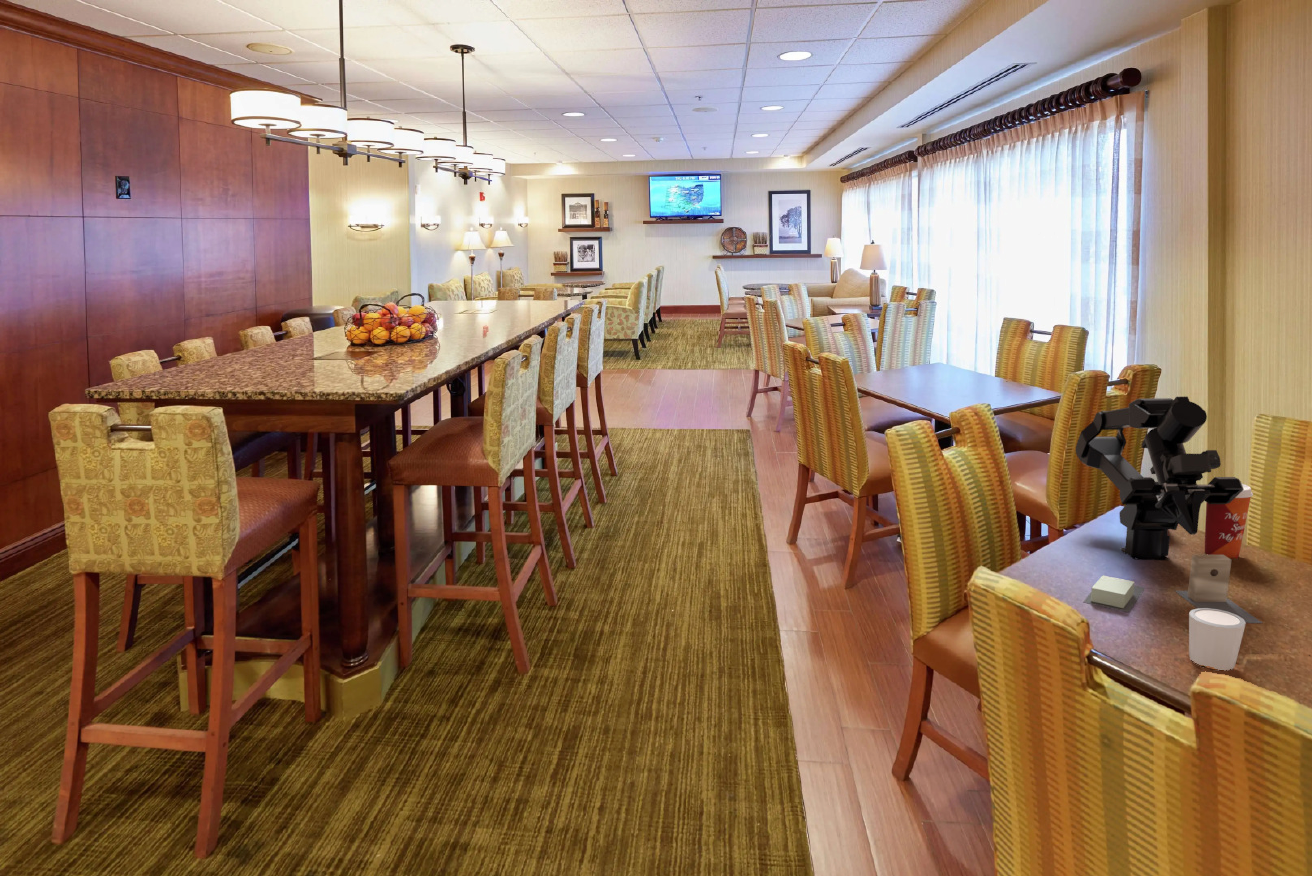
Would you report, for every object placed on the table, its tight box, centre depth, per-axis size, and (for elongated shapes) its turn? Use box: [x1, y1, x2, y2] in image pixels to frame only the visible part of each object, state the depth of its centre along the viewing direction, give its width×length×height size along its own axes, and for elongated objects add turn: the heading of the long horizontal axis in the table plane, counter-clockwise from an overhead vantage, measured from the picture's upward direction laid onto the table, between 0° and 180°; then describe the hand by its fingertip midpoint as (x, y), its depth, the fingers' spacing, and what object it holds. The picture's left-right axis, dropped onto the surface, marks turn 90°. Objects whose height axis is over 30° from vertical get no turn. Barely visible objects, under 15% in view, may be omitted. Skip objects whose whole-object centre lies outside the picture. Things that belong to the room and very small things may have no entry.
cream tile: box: [1187, 554, 1232, 602], centre depth 143 cm, size 2×5×8 cm, turn 85°
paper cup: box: [1204, 483, 1254, 559], centre depth 164 cm, size 8×8×14 cm
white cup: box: [1188, 608, 1247, 672], centre depth 123 cm, size 7×7×7 cm
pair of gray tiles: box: [1083, 584, 1263, 624], centre depth 144 cm, size 25×18×1 cm
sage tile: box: [1090, 575, 1135, 608], centre depth 145 cm, size 2×5×8 cm
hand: (1193, 533), depth 148 cm, fingers closed
